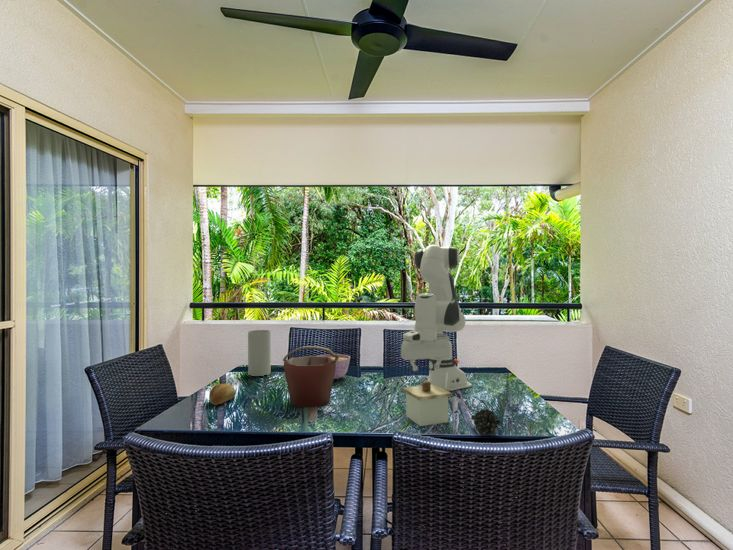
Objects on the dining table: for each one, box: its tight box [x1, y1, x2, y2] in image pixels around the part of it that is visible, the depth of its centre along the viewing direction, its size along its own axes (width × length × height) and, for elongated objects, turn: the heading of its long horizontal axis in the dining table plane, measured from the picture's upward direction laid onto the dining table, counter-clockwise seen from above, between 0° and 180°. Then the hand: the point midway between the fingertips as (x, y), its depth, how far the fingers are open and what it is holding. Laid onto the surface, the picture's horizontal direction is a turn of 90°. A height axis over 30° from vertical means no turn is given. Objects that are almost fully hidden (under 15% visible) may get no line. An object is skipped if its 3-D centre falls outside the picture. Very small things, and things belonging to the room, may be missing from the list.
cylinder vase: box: [247, 329, 272, 377], centre depth 237 cm, size 12×12×25 cm
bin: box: [405, 392, 449, 427], centre depth 161 cm, size 12×12×10 cm
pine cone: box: [470, 408, 501, 435], centre depth 149 cm, size 9×8×15 cm
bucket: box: [282, 345, 339, 409], centre depth 183 cm, size 24×22×25 cm
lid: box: [402, 380, 453, 400], centre depth 161 cm, size 14×14×5 cm
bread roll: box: [209, 383, 236, 406], centre depth 186 cm, size 10×15×8 cm, turn 172°
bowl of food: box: [318, 353, 351, 380], centre depth 227 cm, size 20×20×12 cm
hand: (426, 369), depth 161 cm, fingers open, 8 cm apart
